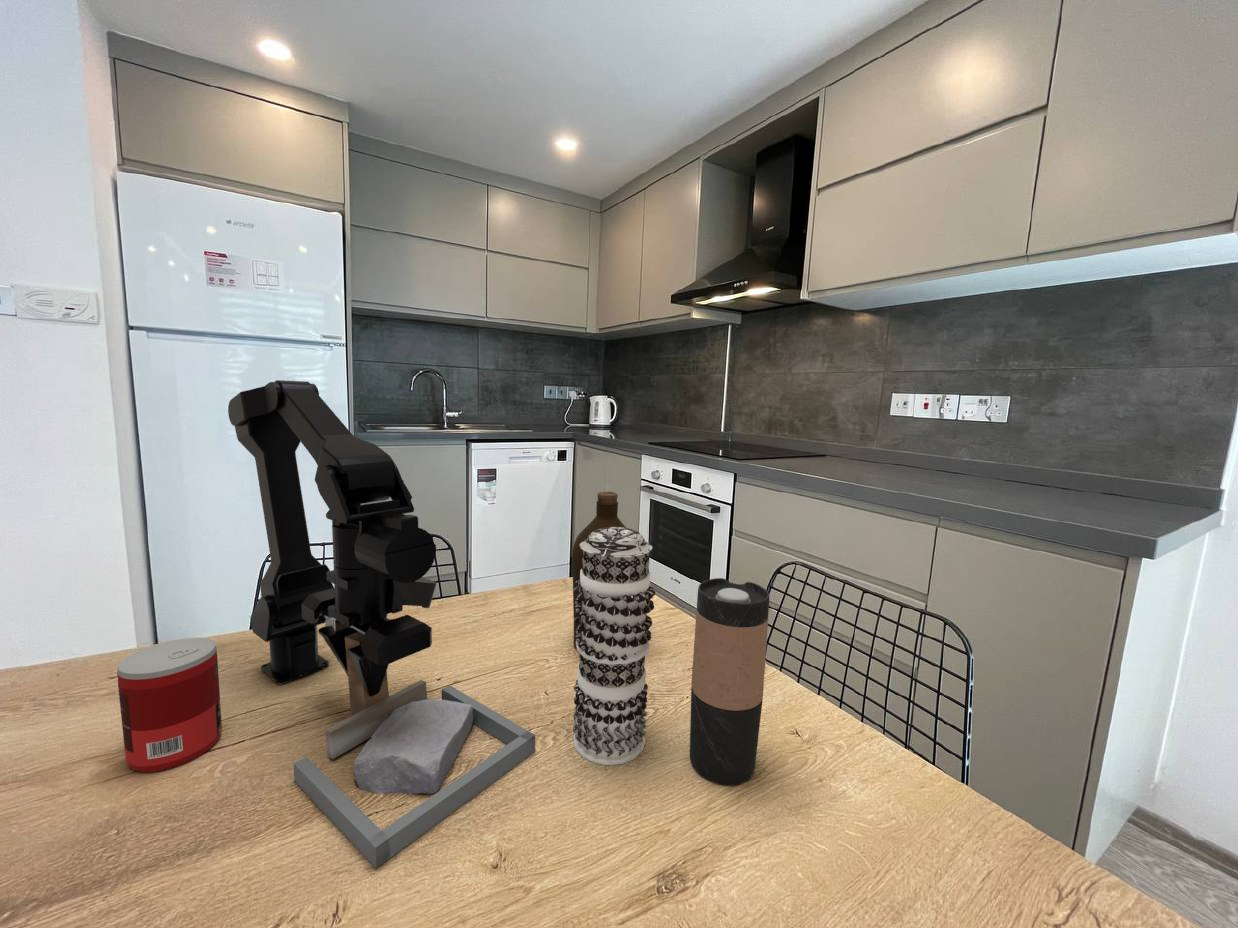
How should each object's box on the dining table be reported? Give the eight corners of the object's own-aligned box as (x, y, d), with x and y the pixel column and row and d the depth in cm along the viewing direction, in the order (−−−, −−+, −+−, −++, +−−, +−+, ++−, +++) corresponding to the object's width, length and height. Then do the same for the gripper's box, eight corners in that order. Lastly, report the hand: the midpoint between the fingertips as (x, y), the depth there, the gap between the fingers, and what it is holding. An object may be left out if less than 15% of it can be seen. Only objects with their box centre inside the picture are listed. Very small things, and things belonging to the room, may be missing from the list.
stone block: (347, 810, 51) (444, 798, 50) (337, 765, 50) (434, 752, 50) (402, 736, 63) (481, 725, 62) (394, 699, 62) (474, 688, 62)
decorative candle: (583, 776, 54) (590, 547, 51) (560, 724, 62) (565, 524, 59) (661, 757, 57) (672, 540, 54) (629, 709, 66) (637, 520, 63)
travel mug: (715, 797, 52) (728, 609, 49) (673, 750, 58) (683, 582, 56) (772, 774, 55) (786, 597, 53) (726, 732, 62) (737, 573, 59)
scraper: (313, 747, 57) (304, 652, 56) (407, 696, 67) (401, 615, 66) (333, 758, 55) (324, 659, 54) (427, 704, 65) (421, 620, 64)
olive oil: (640, 659, 79) (648, 500, 75) (572, 662, 77) (576, 500, 74) (628, 628, 89) (634, 487, 86) (567, 630, 87) (571, 487, 84)
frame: (294, 781, 52) (293, 763, 51) (449, 699, 66) (449, 684, 66) (376, 868, 43) (375, 847, 42) (535, 751, 57) (535, 734, 57)
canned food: (238, 734, 58) (232, 644, 57) (156, 783, 51) (147, 680, 49) (193, 719, 61) (186, 631, 59) (108, 763, 53) (98, 664, 52)
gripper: (471, 562, 60) (472, 687, 61) (385, 533, 70) (388, 641, 72) (379, 588, 51) (383, 734, 52) (297, 551, 61) (302, 673, 63)
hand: (365, 689), depth 60 cm, fingers open, 3 cm apart
